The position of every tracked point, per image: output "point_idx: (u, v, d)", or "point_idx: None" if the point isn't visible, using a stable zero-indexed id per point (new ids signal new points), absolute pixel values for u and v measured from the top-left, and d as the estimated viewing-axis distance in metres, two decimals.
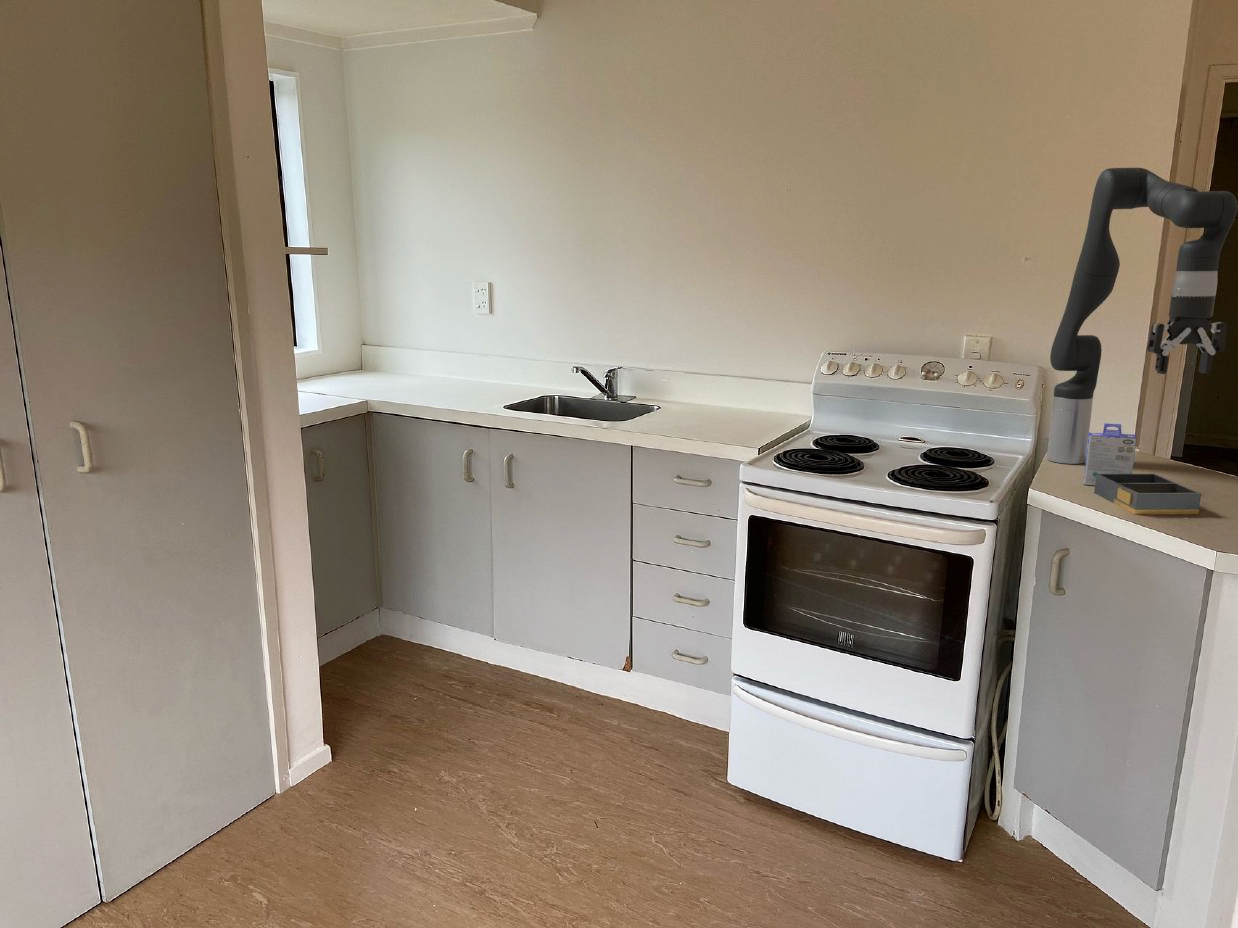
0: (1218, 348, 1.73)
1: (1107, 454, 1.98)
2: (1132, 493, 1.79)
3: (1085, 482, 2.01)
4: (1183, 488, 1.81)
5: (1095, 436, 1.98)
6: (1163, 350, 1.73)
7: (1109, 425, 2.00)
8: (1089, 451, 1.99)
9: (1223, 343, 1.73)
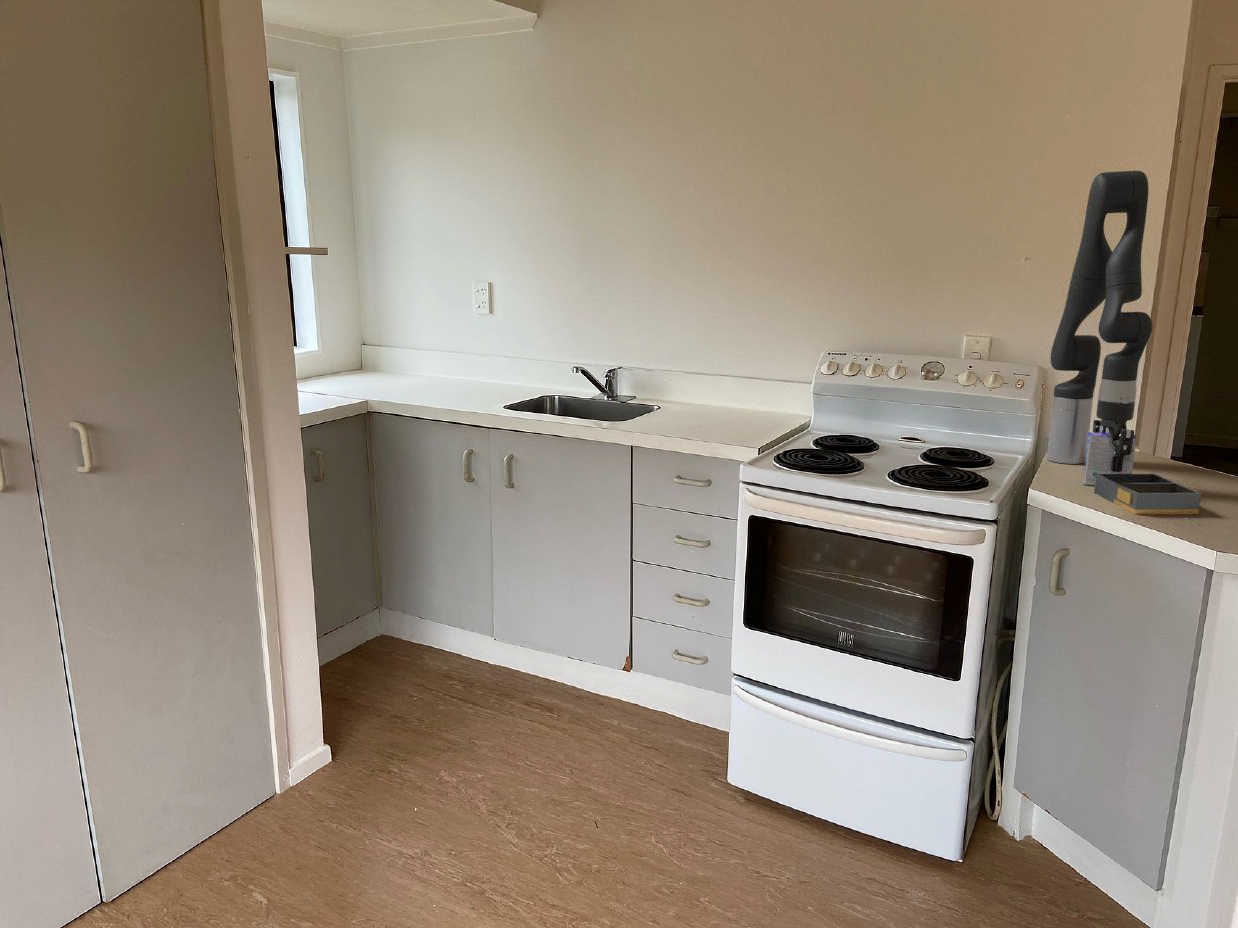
0: None
1: (1107, 454, 1.98)
2: (1132, 493, 1.79)
3: (1085, 482, 2.01)
4: (1183, 488, 1.81)
5: (1095, 436, 1.98)
6: None
7: None
8: (1089, 451, 1.99)
9: None
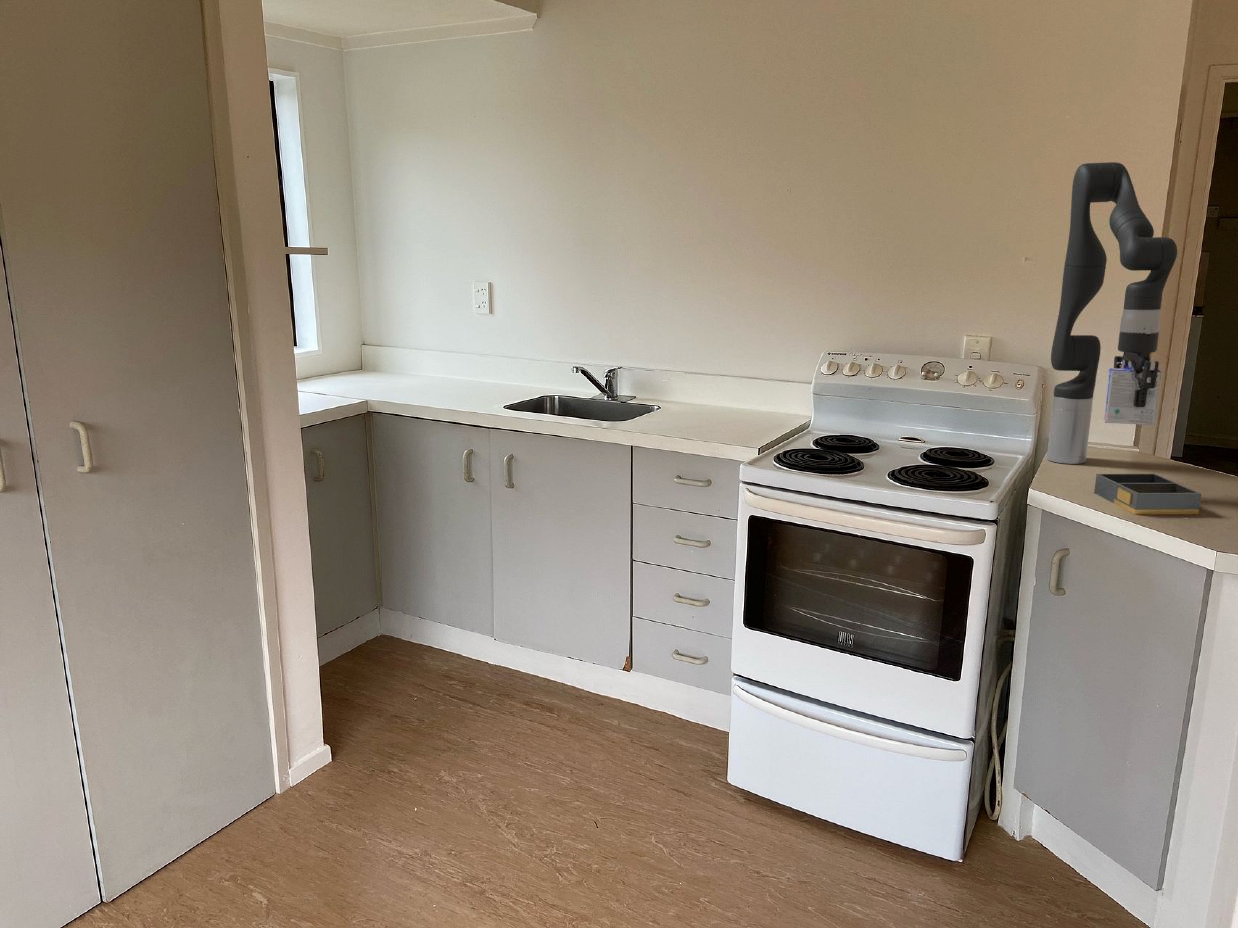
0: None
1: (1130, 390, 1.88)
2: (1132, 493, 1.79)
3: (1106, 420, 1.91)
4: (1183, 488, 1.81)
5: (1117, 371, 1.88)
6: None
7: None
8: (1111, 387, 1.89)
9: None
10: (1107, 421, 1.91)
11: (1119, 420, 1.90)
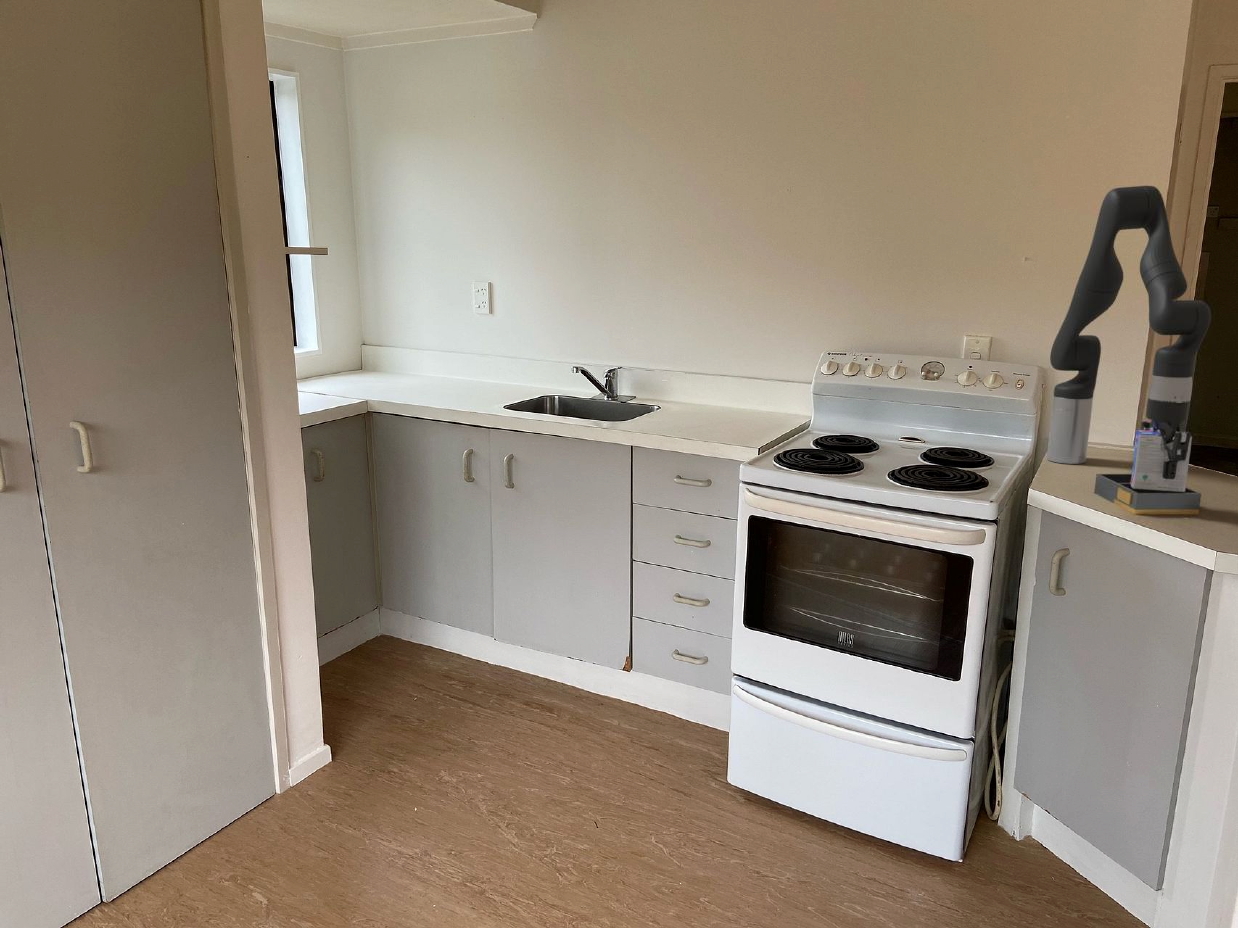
0: None
1: (1159, 455, 1.77)
2: (1132, 493, 1.79)
3: (1134, 486, 1.80)
4: None
5: (1145, 435, 1.77)
6: None
7: None
8: (1138, 451, 1.79)
9: None
10: (1134, 487, 1.80)
11: (1147, 486, 1.79)
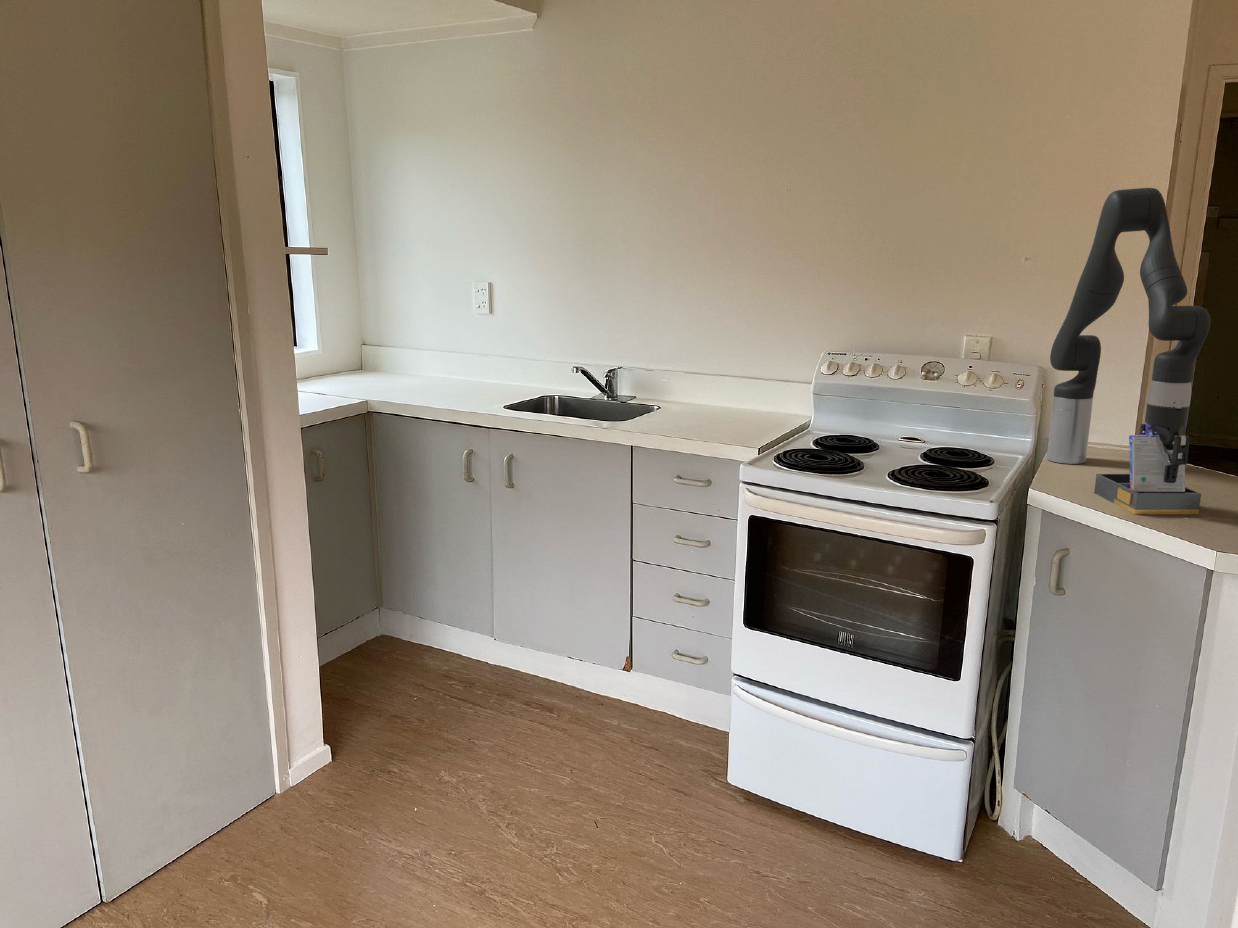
0: None
1: (1155, 456, 1.78)
2: (1132, 493, 1.79)
3: (1133, 489, 1.80)
4: None
5: (1138, 437, 1.79)
6: None
7: None
8: (1134, 454, 1.80)
9: None
10: (1134, 490, 1.80)
11: (1147, 489, 1.79)
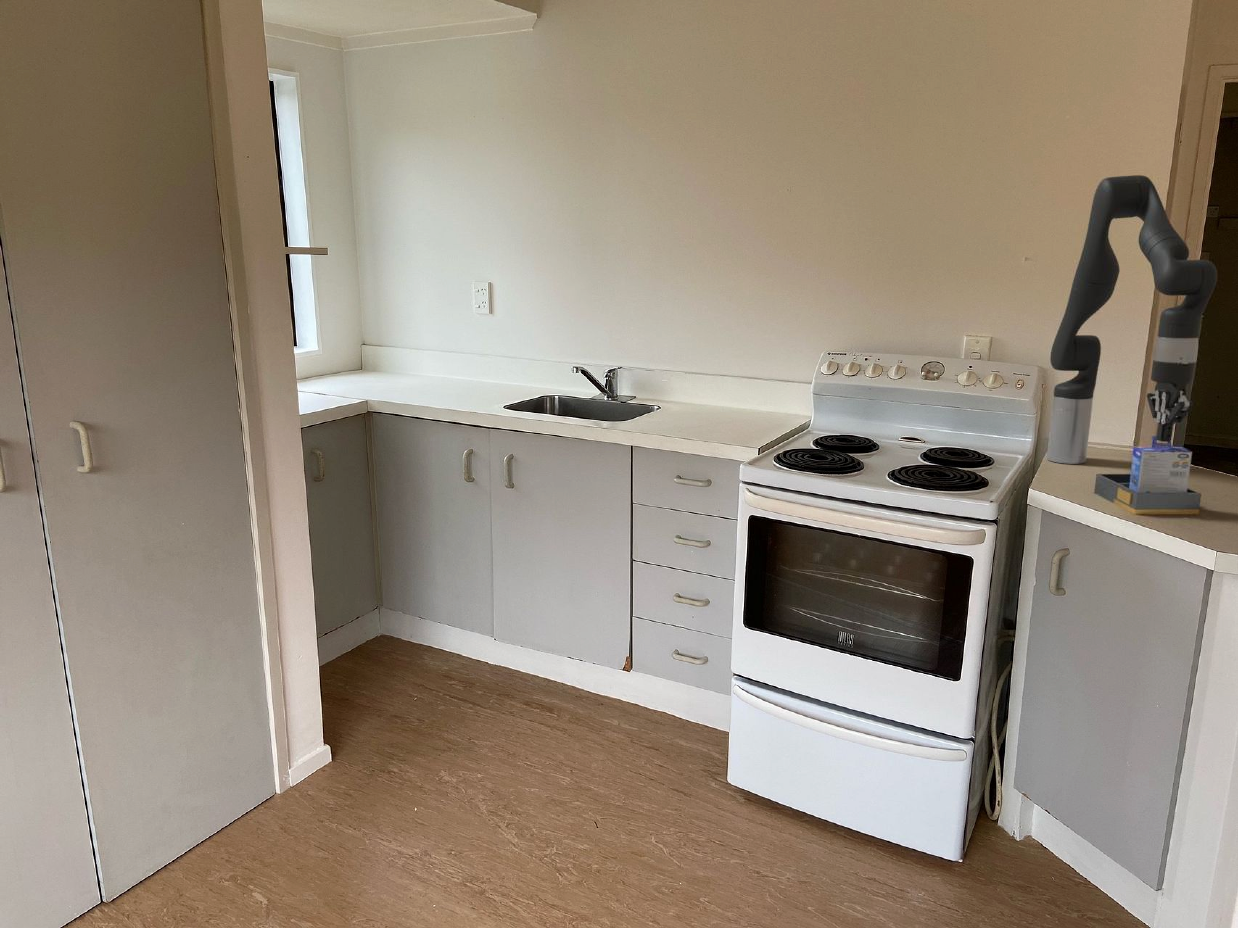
0: None
1: (1161, 471, 1.78)
2: (1132, 493, 1.79)
3: None
4: None
5: (1148, 451, 1.77)
6: None
7: None
8: (1142, 468, 1.78)
9: None
10: None
11: None
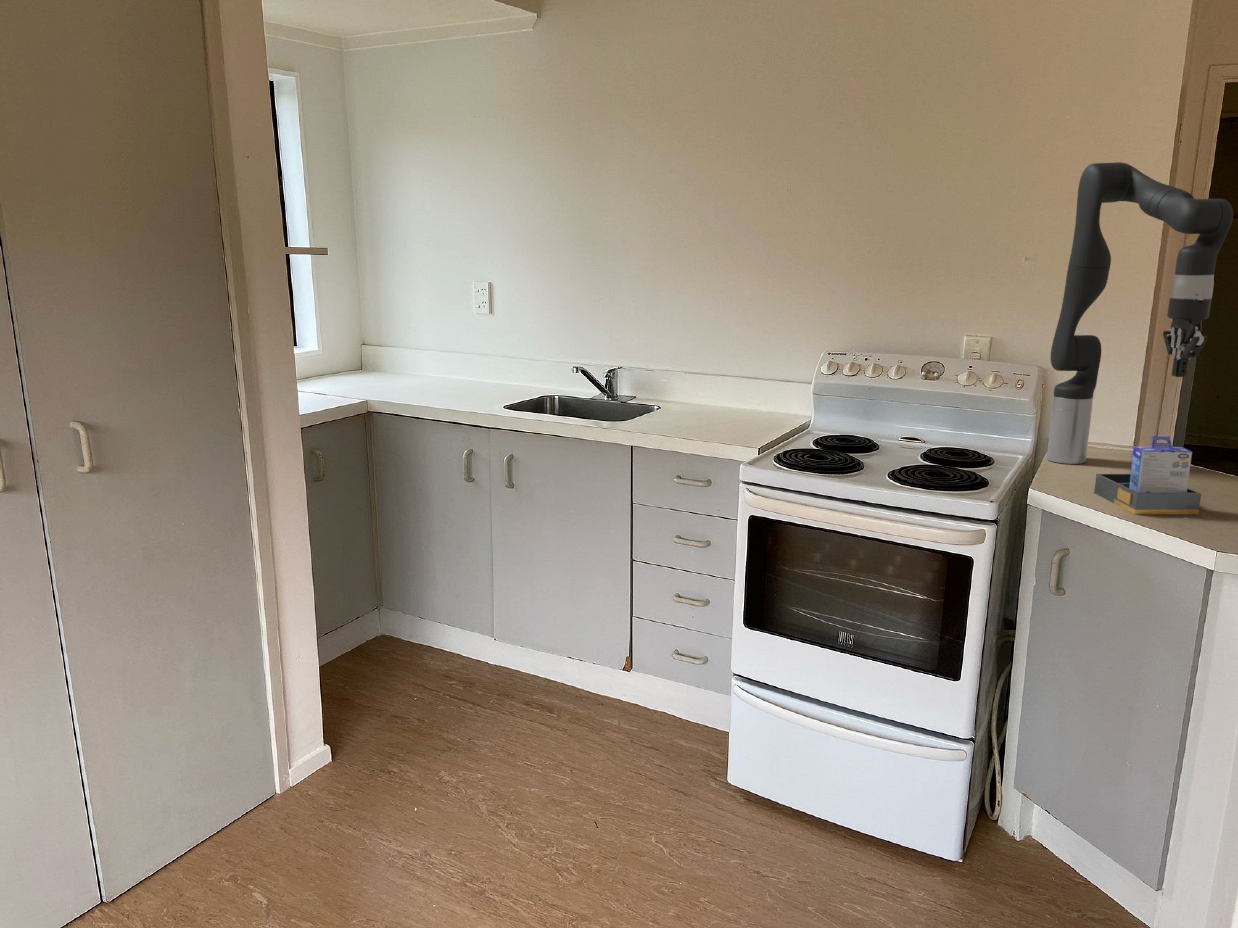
0: None
1: (1161, 471, 1.78)
2: (1132, 493, 1.79)
3: None
4: None
5: (1148, 451, 1.77)
6: None
7: (1158, 438, 1.80)
8: (1142, 468, 1.78)
9: None
10: None
11: None
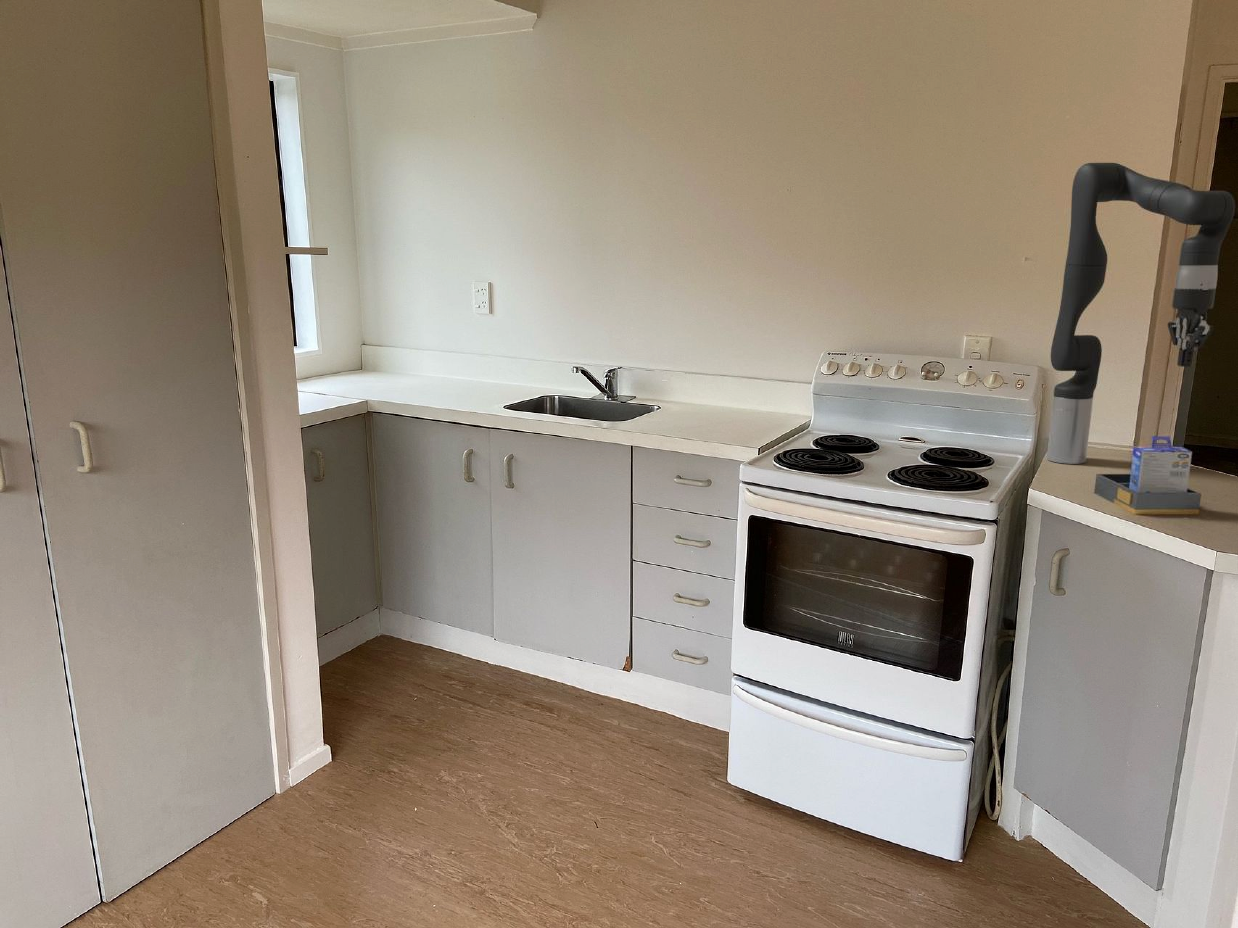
0: None
1: (1161, 471, 1.78)
2: (1132, 493, 1.79)
3: None
4: None
5: (1148, 451, 1.77)
6: None
7: (1158, 438, 1.80)
8: (1142, 468, 1.78)
9: None
10: None
11: None
